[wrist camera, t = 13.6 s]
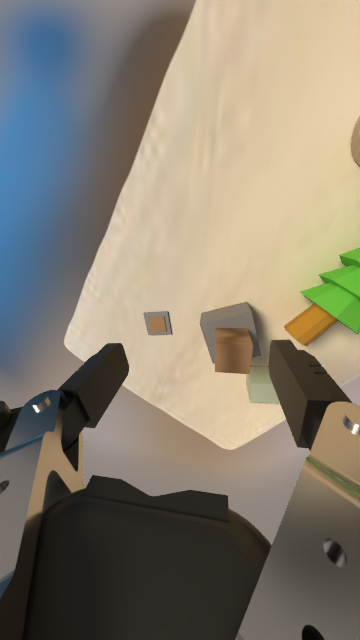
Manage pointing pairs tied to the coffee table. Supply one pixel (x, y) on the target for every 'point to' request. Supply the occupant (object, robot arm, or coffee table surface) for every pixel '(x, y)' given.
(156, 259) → the coffee table surface
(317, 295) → the decorative tree
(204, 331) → the base block
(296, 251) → the coffee table surface
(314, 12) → the coffee table surface
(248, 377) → the sage cube
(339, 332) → the coffee table surface
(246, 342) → the walnut cube
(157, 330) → the card
